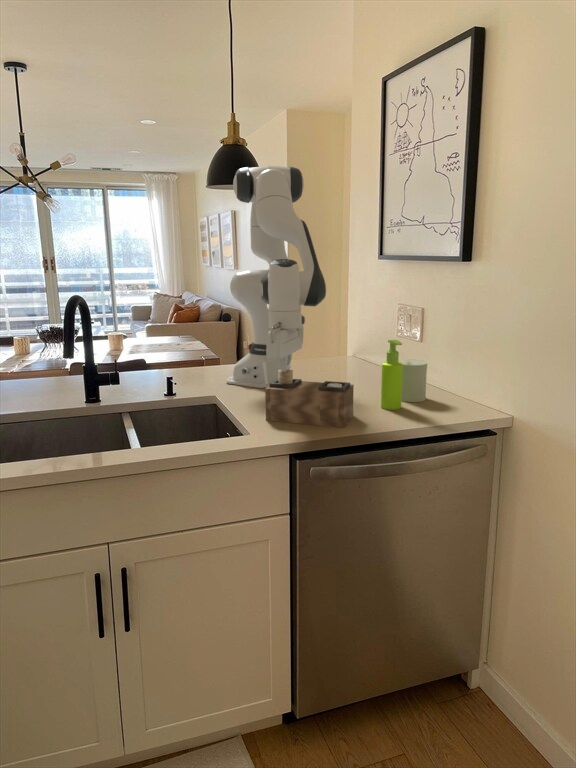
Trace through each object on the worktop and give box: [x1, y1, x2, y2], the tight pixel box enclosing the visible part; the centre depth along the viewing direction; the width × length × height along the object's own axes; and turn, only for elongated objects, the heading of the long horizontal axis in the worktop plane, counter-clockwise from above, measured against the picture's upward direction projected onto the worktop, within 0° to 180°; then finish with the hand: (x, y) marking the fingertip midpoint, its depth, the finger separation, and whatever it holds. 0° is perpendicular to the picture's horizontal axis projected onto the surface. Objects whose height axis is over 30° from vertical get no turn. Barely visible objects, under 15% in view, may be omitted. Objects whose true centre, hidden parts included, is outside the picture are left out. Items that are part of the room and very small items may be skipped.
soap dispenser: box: [380, 339, 403, 411], centre depth 163 cm, size 6×7×20 cm
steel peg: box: [327, 383, 342, 387], centre depth 152 cm, size 4×4×8 cm
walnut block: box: [264, 378, 354, 428], centre depth 155 cm, size 22×11×10 cm, turn 71°
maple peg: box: [278, 369, 294, 384], centre depth 156 cm, size 4×4×8 cm
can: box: [398, 358, 428, 403], centre depth 174 cm, size 9×9×12 cm
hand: (285, 370), depth 155 cm, fingers closed, pressing on maple peg
